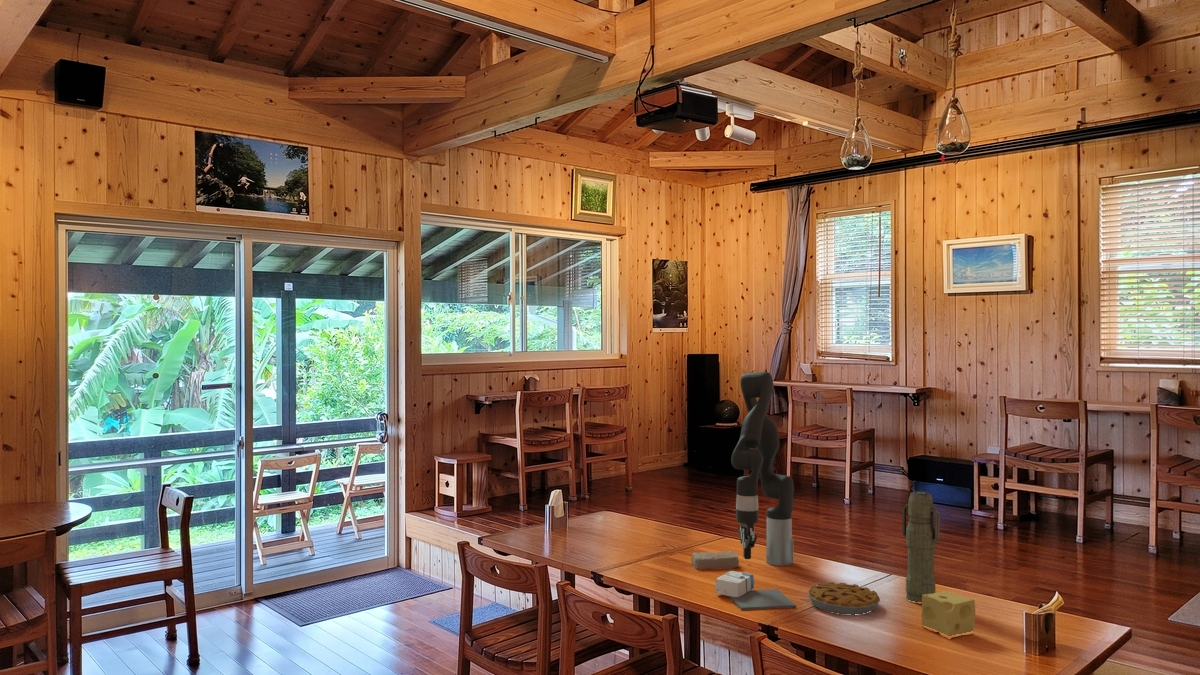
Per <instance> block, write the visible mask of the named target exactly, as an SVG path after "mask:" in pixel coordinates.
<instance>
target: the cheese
mask: <svg viewBox="0 0 1200 675" xmlns="http://www.w3.org/2000/svg"><path fill="white" fill-rule="evenodd" d="M975 623H976V604H975V599H972V598H969V597H964V596H961V595H958V594H955V593H953V592H950V591H947V590H942V591H937V592H935V593H933V594H925V595H922V605H921V625H924V626H927V627H929V628H932V629H935V630H937V631H939V632H941V633H944V634H946V635H948V636H952V635H956V634H962V633H966V632H971V631H973V632H974V627H975Z"/></svg>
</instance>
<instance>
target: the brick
mask: <svg viewBox="0 0 1200 675" xmlns="http://www.w3.org/2000/svg"><path fill="white" fill-rule="evenodd" d="M690 561H691V565H692V566H693V569H696V570H704V569H710V570H714V569H734V568H738V567H739V563H740V561H739V556H738V554H736V553H735V552H734V551H733V550H731V551H730V550H725V551H717V552H716V551H715V552H712V551H711V552H710V551H702V552H692V555H691V558H690Z"/></svg>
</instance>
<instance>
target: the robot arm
mask: <svg viewBox="0 0 1200 675" xmlns="http://www.w3.org/2000/svg"><path fill="white" fill-rule="evenodd" d="M739 382H740V389H741V393H742V397H743V400H744V402H745V407H746V410H747V415H746V416H745V417H744V418H743V422H742V424H741V430H740V436H739V440H738V442H737V444H736V446H734V447H735V448H734V449H733V451H732V454H731V459H730V460H731V465H732V467H733V468H734V469H736V470H741V471H742V470H743V471H751V472H750V474H748V475H744V476H740V477H738V478H737V479H736V498H735V520H736V522H738V523H739V524H740V526H738V527H737V532H738V536H739V541H740V544H741V545H742V546H741V547H742V548H743V556H742V557H743V559H744V560H751V559H752V549H753V548H754V547H755V545H756V542H757V539H758V535H757V534H755V533H756V532H755V530H756V529H755V526H754V524H757V523H758V522H759V494H758V493H759V492H758V490H759V488H758V487H759V486H758V484H759V478H760V482H761V489H762V492H763V495H764V496H765V497H766V498H770V499H775V500H778V505H776V506H772V507H769V508H768V509H766V548H765V549H766V550H765V551H766V556H765V557H766V561H765V562H766V563H767V564H769V565H772V566H777V567H778V566H780V567H781V566H782V567H785V566H790V565H794V538H792V524H793V522H792V516H793V515H792V514H793V510H794V509H793V508H794V494H795V492H794V491H795V483H794V480H793V478H792V477H791V476H789V475H784V474H778V473H777V474H776V473H775V472H774V466H773V462H774V459H775V457H776V455H777V453H778V451H779V447H780V436H779V431H778V427H777V425H776V423H775V422H774V421H773V420H772V418H771V417H770V416H768V414H767V411H768V409H769V405H770V402H771V398H772V395H773V390H774V380H773V377H772V374H771V373H770V372H768V371H757V372H745V373H743V374H742V375H741V376H740V380H739ZM757 398H758V399H757ZM757 400H758V401H757ZM754 448H755V449H754Z"/></svg>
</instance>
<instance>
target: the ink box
mask: <svg viewBox="0 0 1200 675" xmlns="http://www.w3.org/2000/svg"><path fill="white" fill-rule="evenodd" d="M750 590H755V577H754V574H751V573H745V572H740V571H734V570H730V571H728V572H726V573H724V574H722V575H721V576H718V577H717V578H716V579H715V593H716V594H718V595H720V596H721V595H722V596H726V597H728V596H731V597H736V598H737V597H740V596H742V595H744V594H745V593H747V592H749V591H750Z"/></svg>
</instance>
